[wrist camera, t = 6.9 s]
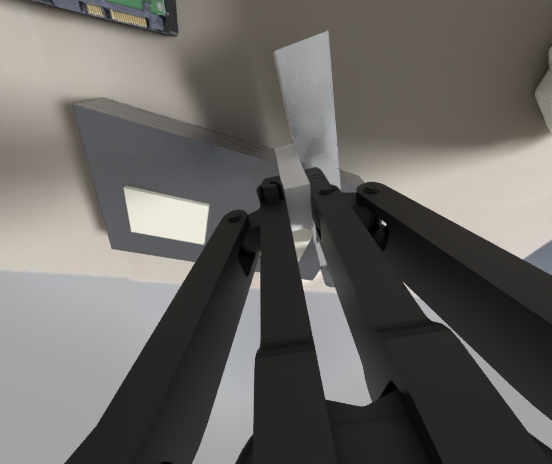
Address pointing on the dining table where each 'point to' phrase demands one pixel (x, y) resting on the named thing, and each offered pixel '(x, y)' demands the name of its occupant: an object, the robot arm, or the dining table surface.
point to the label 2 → (301, 240)
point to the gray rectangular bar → (311, 112)
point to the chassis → (175, 173)
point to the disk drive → (126, 12)
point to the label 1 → (166, 215)
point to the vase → (546, 94)
